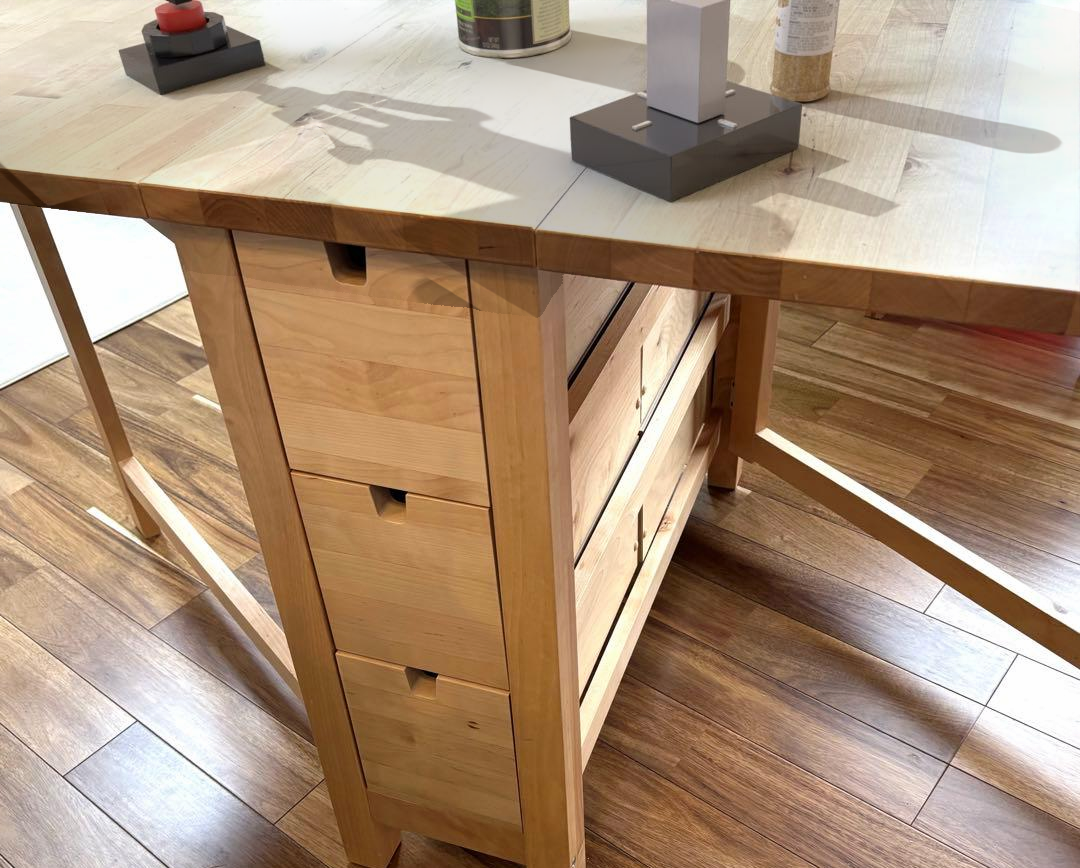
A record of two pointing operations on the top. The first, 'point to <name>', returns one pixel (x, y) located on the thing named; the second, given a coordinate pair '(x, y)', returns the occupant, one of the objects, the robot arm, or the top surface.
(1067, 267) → the top surface
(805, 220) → the top surface
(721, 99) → the light grey upright block
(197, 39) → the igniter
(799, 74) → the sprinkles bottle
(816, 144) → the top surface
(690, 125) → the dark grey flat block
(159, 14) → the ignition button
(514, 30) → the coffee can
